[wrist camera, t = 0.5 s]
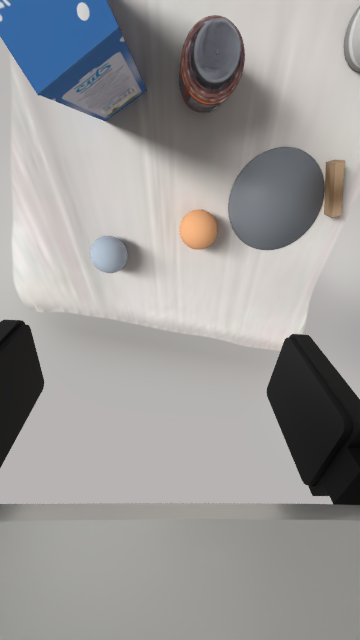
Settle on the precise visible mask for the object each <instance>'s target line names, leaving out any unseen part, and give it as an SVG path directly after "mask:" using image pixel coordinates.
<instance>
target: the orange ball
mask: <svg viewBox="0 0 360 640" xmlns="http://www.w3.org/2000/svg"><path fill="white" fill-rule="evenodd" d="M216 235H217V223H216V220H215V218H214V217H213V216H212V215H211V214H210V213H209V212H207V211H205V210H193V211H191V212H189V213H188V214H187V215H185V217H184V218H183V219H182V221H181V224H180V236H181V239H182V240H183V242H184V243H185V244H186V245H187V246H188V247H190V248H192V249H204V248H206V247H208V246H210V245H211V244H212V243H213V241H214V240H215V238H216Z"/></svg>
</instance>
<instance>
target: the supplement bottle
mask: <svg viewBox="0 0 360 640" xmlns="http://www.w3.org/2000/svg"><path fill="white" fill-rule="evenodd" d="M244 61H245V53H244V44H243V40H242V37H241V34H240V32H239V31H238V29H237V27H236V26H235V25H234V24H233V23H232V22H231V21H230V20H228V19H227V18H225V17H222V16H217V15H213V16H208V17H205V18H203V19H202V20H200V21H199V22H198V23H197V24H196V25H195V26H194V27H193V28H192V29H191V31H190V32H189V34H188V36H187V38H186V40H185V43H184V46H183V50H182V55H181V64H180V75H179V84H180V90H181V94H182V96H183V99H184V101H185V102H186V104H187V105H188V106H189V107H190V108H191V109H193V110H195V111H197V112H202V113H205V112H209V111H212V110H214V109H215V108H217V107H218V106H219V105H220V104H221V103H222V102H223V101H224V100H225V99H226V98H227V97H228V96H229V95H230V94H231V93H232V92H233V90H234V89H235V87H236V86H237V84H238V82H239V80H240V78H241V75H242V72H243V67H244Z"/></svg>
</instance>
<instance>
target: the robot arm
mask: <svg viewBox="0 0 360 640" xmlns="http://www.w3.org/2000/svg"><path fill="white" fill-rule="evenodd" d="M43 387H44V379H43V375H42V371H41V367H40V363H39V360H38V356H37V352H36V348H35V344H34V340H33V336H32V333H31V329H30V327H29V325H25V323H24V322H23V321H20V320H3V321H1V322H0V467H1V466H2V464H3V462H4V460H5V458H6V456H7V454H8V453H9V451H10V449H11V447H12V445H13V443H14V442H15V440H16V438H17V436H18V434H19V432H20V431H21V429H22V427H23V425H24V423H25V421H26V419H27V418H28V416H29V414H30V412H31V410H32V408H33V407H34V404H35V403H36V401H37V399H38V397H39V395H40V393H41V392H42V390H43ZM267 396H268V399H269V401H270V404H271V406H272V409H273V411H274V414H275V416H276V418H277V421H278V423H279V426H280V428H281V430H282V433H283V435H284V438H285V440H286V443H287V445H288V447H289V449H290V452H291V455H292V457H293V459H294V462H295V464H296V467H297V469H298V471H299V474H300V476H301V479H302V481H303V482H304V484H306V485H308V486H309V488H310V491H311V493H312V495H313V496H330V498H331V500H332V502H333V505H327V504H0V640H360V399H359V398H358V397H357V395H356V394H355V393H354V392H353V390H352V389H351V388H350V387H349V385H348V384H347V383H346V382H345V380H344V379H343V378H342V377H341V375H340V374H339V373H338V372H337V370H336V369H335V368H334V366H333V365H332V364H331V363H330V361H329V360H328V359H327V357H326V356H325V355H324V354H323V353H322V351H321V350H320V349H319V347H318V346H317V345H316V344H315V342H314V341H313V340H312V338H311V337H310V336H309V335H299V334H292V335H291V336H290V337H289V338H286V339H285V341H284V343H283V346H282V349H281V352H280V354H279V357H278V360H277V363H276V365H275V368H274V371H273V374H272V376H271V379H270V382H269V385H268V387H267Z"/></svg>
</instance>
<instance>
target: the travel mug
mask: <svg viewBox="0 0 360 640" xmlns="http://www.w3.org/2000/svg"><path fill="white" fill-rule="evenodd" d="M344 54H345V59H346V61H347V63H348V65H349V66H350V67H351V68H352V69H354V70H355V71H358V72H360V6H359V7H358V9H357V10H356V12H355V13H354V15H353V17H352V18H351V20H350V22H349V25H348V28H347V30H346V34H345V40H344Z"/></svg>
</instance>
